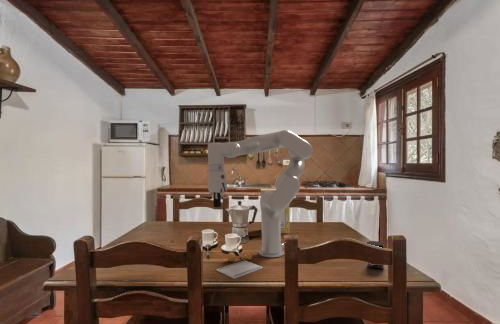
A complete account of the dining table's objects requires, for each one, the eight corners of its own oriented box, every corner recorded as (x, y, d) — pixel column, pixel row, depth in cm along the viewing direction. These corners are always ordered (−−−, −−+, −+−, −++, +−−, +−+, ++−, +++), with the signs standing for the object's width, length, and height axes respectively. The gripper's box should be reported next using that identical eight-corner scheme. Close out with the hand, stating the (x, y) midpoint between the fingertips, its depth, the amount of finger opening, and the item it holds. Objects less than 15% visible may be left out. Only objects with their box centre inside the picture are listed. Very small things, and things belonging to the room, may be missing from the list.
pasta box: (261, 233, 183) (260, 190, 183) (261, 229, 194) (260, 188, 194) (289, 233, 182) (289, 190, 183) (288, 229, 193) (287, 188, 193)
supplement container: (365, 264, 126) (364, 240, 126) (380, 264, 125) (380, 241, 125) (369, 269, 119) (369, 245, 119) (386, 270, 119) (386, 245, 119)
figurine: (224, 253, 136) (247, 245, 139) (227, 266, 135) (251, 258, 138) (227, 254, 128) (252, 246, 132) (230, 267, 127) (255, 259, 130)
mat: (244, 261, 132) (244, 260, 132) (262, 268, 123) (262, 266, 123) (216, 270, 121) (216, 269, 121) (234, 278, 112) (234, 277, 112)
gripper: (232, 168, 132) (233, 207, 132) (213, 168, 143) (214, 204, 143) (219, 168, 127) (220, 209, 127) (200, 168, 138) (202, 206, 138)
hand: (217, 206), depth 135 cm, fingers closed
